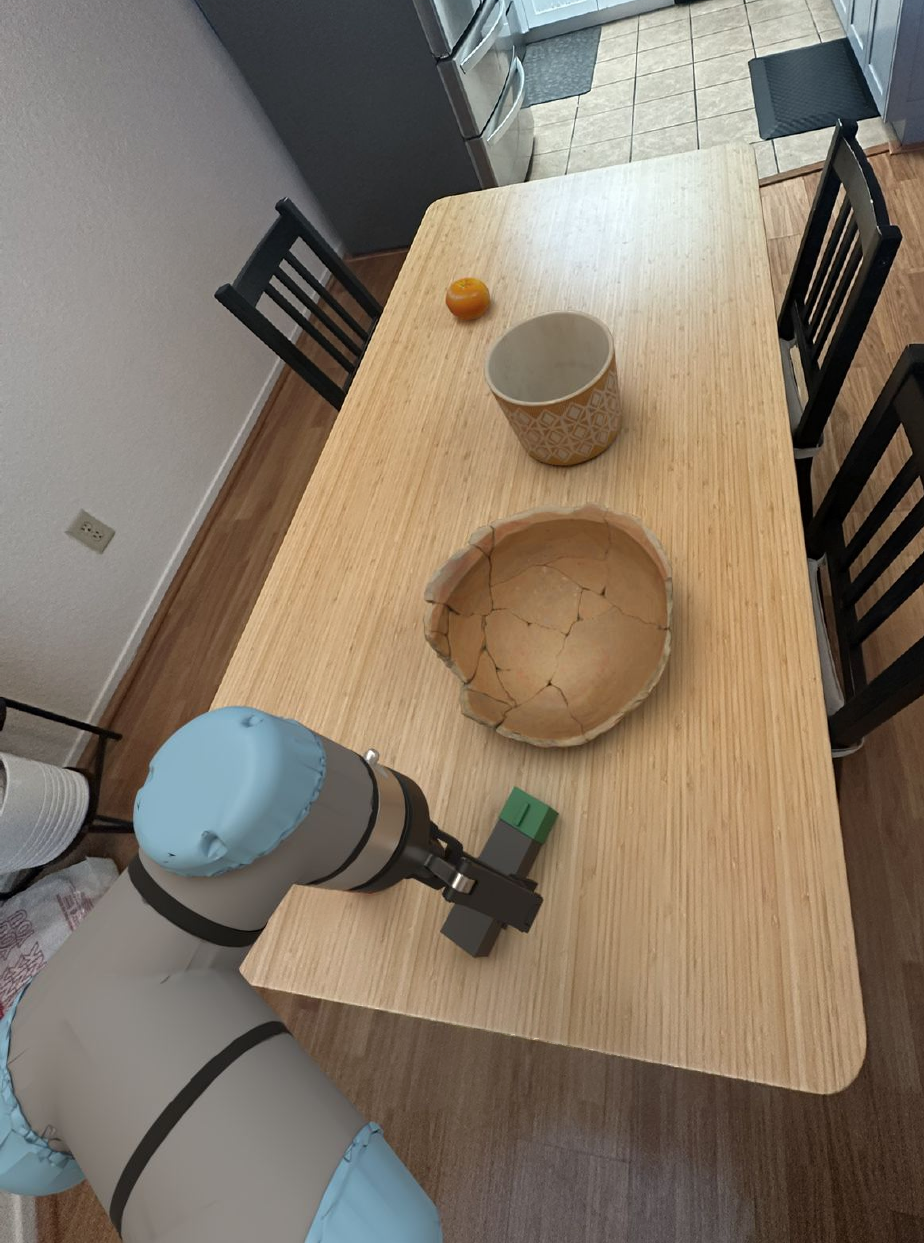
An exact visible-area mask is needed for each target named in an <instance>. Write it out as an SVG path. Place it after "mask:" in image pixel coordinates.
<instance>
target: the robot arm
mask: <svg viewBox="0 0 924 1243" xmlns="http://www.w3.org/2000/svg"><path fill="white" fill-rule="evenodd" d="M380 757H381V755H380V753H379V751H378V750H376V749H375V748H369V749H367V750H366V751H365V752H364V754H363V755H361V754H360V753H357V751H355V750H352V749H350V748H348V747H346V746H344V745H342V744H341V743H338V742H336V741H335V740H333V739H331V738H329V737H326V736H325V735H323V734H321V733H320V732H317V731H316V730H313V729H311V728H310V727H307V726H305V725H304V724H303V723H301V722H300V721H298V720H296V719H293V718H284V717H283V716H278V715H276V714H272V713H269V712H267V711H264V710H261V709H258V708H256V707H253V706H246V705H228V706H223V707H220V708H216V709H212V710H210V711H207V712H205V713H201V714H199V715H198V716H197V717H194V718H193V719H192V720H190V721H188V722H187V723H185V724H184V725H182V727H180V728H179V729H178V730H176V731H175V732H174V733H173V734H172V735H171V736H170V737H169V738H167V739H166V741H165V742H164V743H163V744H162V745H161V747H160V748H159V749H158V751H157V752H156V753H155V755H154V756H153V757H152V759H151V761H150V762H149V764H148V768H149V772H148V775H147V777H146V779H145V781H144V785H143V786H142V787H141V788H139V789H138V790H137V793H136V796H135V799H134V803H133V814H132V815H133V816H132V819H133V820H132V822H133V830H134V833H135V838H136V840H137V842H138V846H139V847H138V851H137V852H136V854H134V856H133V857H132V858H131V859H130V860H129V862H128V865H127V866H126V868H125V869H124V870H123V871H122V872H121V874H120V875H119V876H118V877H117V878H116V880H115V881H114V882H113V884H112V885H111V886H110V887H109V888H108V890H107V891H106V892H105V893H104V894H103V896H101V898H100V899H99V900H98V901H97V903H96V904H95V905H94V906H93V907H92V908H91V910H90V911H89V912H88V913H87V915H86V916H84V918H83V919H82V920H81V921H80V923H78V925H77V926H76V927H75V929H74V930H73V931H72V932H71V933H70V935H69V936H68V937H67V938H65V941H64V942H63V943H61V945H60V946H59V947H58V948H57V950H56V951H55V952H54V954H53V955H52V956H51V957H50V958H49V959H48V961H47V962H46V963H45V964H44V965H43V966H42V967H41V969H39V970H38V971H37V973H35V974H34V975H33V976H32V977H31V978H29V979H28V981H27V982H26V983H25V985H24V986H23V988H22V989H21V990H20V991H19V992H18V993H17V995H16V996H15V998H14V1000H13V1002H12V1005H10V1007H9V1009H8V1010H7V1011H6V1013H5V1014H4V1016H3V1017H2V1018H1V1019H0V1190H1V1191H2V1192H6V1193H9V1194H13V1195H16V1196H17V1195H18V1196H25V1197H43V1196H50V1195H55V1194H60V1193H62V1192H65V1191H68V1190H70V1189H72V1188H74V1187H75V1186H78V1185H79V1184H80V1183H81V1182H83V1181H85V1180H87V1182H88V1184H89V1186H90V1187H91V1189H92V1190H93V1192H94V1194H95V1196H96V1197H97V1199H98V1202H99V1203H100V1205H101V1206H102V1208H103V1210H104V1212H105V1213H106V1215H107V1216H108V1218H109V1220H110V1222H111V1224H112V1225H113V1227H114V1228H115V1230H116V1232H117V1234H118V1238H119V1239H120V1241H121V1242H122V1243H444V1235H443V1226H442V1222H441V1220H440V1213H439V1211H438V1208H437V1207H436V1204H434V1202H433V1201H432V1199H431V1198H430V1197H429V1195H428V1194H427V1192H425V1190H424V1189H423V1188H422V1187H421V1185H420V1184H419V1182H418V1181H417V1180H416V1178H415V1177H414V1176H413V1174H411V1172H410V1170H408V1168H407V1167H406V1165H405V1164H404V1162H403V1161H402V1160H401V1158H399V1157H398V1155H397V1154H396V1152H395V1151H394V1150H393V1148H392V1146H390V1145H389V1143H388V1142H387V1141H386V1139H385V1138H384V1133H385V1132H384V1131H385V1130H383V1128H382V1127H381V1126H380V1125H379V1124H378V1123H377V1122H376V1121H374V1120H372V1121H369V1120H368V1118H366V1116H365V1115H364V1114H363V1113H362V1112H361V1111H360V1110H359V1108H357V1106H356V1105H355V1104H354V1102H352V1100H351V1099H350V1098H349V1097H348V1095H346V1093H344V1092H343V1091H342V1089H341V1088H340V1087H339V1086H338V1085H337V1084H336V1082H334V1080H333V1079H332V1078H331V1077H330V1076H329V1075H328V1074H327V1073H326V1071H325V1070H324V1069H323V1068H322V1067H321V1066H320V1065H319V1064H318V1063H317V1062H316V1060H315V1059H314V1058H313V1057H312V1055H310V1053H309V1052H308V1051H307V1050H306V1049H305V1048H304V1047H303V1046H302V1044H300V1042H299V1041H298V1040H297V1039H296V1038H295V1036H294V1035H293V1033H292V1032H291V1031H290V1030H289V1029H288V1027H287V1026H286V1023H284V1021H283V1020H282V1019H281V1017H279V1015H278V1014H277V1013H276V1012H275V1011H274V1009H273V1008H272V1006H270V1005H269V1004H268V1002H267V1001H266V1000H265V999H264V998H263V997H262V996H261V994H260V993H259V992H258V991H257V990H256V989H255V987H254V986H253V985H252V984H251V983H250V982H249V980H248V979H247V978H246V977H245V976H244V975H243V974H242V972H241V970H240V969H241V968H240V967H241V966H242V965H243V963H244V961H245V960H246V958H247V956H248V955H249V953H250V952H251V950H252V948H253V947H254V945H255V943H256V942H257V941H258V940H259V938H260V937H261V935H262V934H263V933H264V930H265V929H266V928H267V926H268V923H269V921H270V920H271V917H272V916H273V915H274V913H275V912H276V910H277V909H278V907H279V906H280V905H281V903H282V902H283V900H284V898H285V897H286V896H287V895H288V893H289V891H290V890H291V888H292V887H293V886H294V885H295V886H300V887H307V888H315V889H322V890H328V891H337V890H345V891H353V892H362V893H375V892H380V891H382V892H384V891H385V890H388V889H390V888H393V887H394V886H395V885H397V884H399V883H401V882H402V881H403V880H416V881H418V882H420V883H422V884H423V885H425V886H427V887H429V888H431V889H433V890H435V891H441V890H442V889H443V890H442V892H441V896H442V898H443V899H444V901H446V902H447V903H449V904H458V905H462V906H466V907H469V908H471V909H473V910H475V911H478V912H480V913H482V914H485V915H487V916H489V917H491V918H494V919H496V920H497V922H496V923H498V925H499V926H500V927H501V928H502V930H504V931H507V930H508V927H509V926H510V927H511V928H514V929H516V930H518V931H519V932H521V933H522V934H523V933H525V934H529V932H530V930H531V929H532V926H533V923H534V922H535V921H536V920H535V919H536V918H537V915H538V914H539V911H540V909H541V907H542V904H543V902H544V901H545V899H544V897H543V896H542V895H541V894H540V893H539V892H537V891H536V889H537V887H538V885H539V883H538V882H537V881H535V880H533V878H530V877H527V878H526V877H523V876H519V875H515V874H512V873H510V874H509V876H508V875H506V874H504V873H503V872H501V871H499V870H497V869H495V868H493V867H492V866H490V865H488V864H486V863H484V862H483V861H481V860H479V859H478V858H477V857H476V856H473V855H472V854H470V853H469V852H467V851H464V845H463V843H462V842H461V841H460V840H458V839H457V837H455V836H453V835H452V834H450V833H448V832H446V831H444V830H442V829H440V828H439V825H437V824H436V823H435V822H434V821H433V820H432V819H431V815H430V808H429V804H428V800H427V798H426V795H425V793H424V792H423V790H422V788H421V787H420V786H419V784H418V783H417V782H416V781H414V780H413V779H412V778H410V776H407V775H405V774H403V773H401V772H399V771H398V770H395V769H393V768H391V767H388V766H385V765H383V764H380V763H378V762H379V761H380ZM440 841H441V842H443V843H445V844H446V847H444V846H443V844H442V843H441V842H440ZM383 890H384V891H383Z"/></svg>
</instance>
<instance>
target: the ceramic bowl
mask: <svg viewBox="0 0 924 1243" xmlns="http://www.w3.org/2000/svg"><path fill="white" fill-rule="evenodd" d="M467 544H468V545H467V546H466V547H463V548H460V549H458V550H456V551H455V552H454V553H453V554H452V555H451V556H450V557H449V558H448V559H447V560H446V561H445V562H443V563H442V564H441V565H440V566H439V567H438V568H436V570H434V571H433V572H432V574H431V577H430V579H429V580H428V583H427V585H426V586H425V590H424V594H423V595H424V596H423V597H424V601H425V602H426V603H429V604H431V606H430V607H429V608H427V611H426V612H425V614H424V615H423V619H422V622H423V635H424V639H425V641H426V642H427V643H428V644H429V646H430V647H431V649H432V650H434V652H435V654H436V658H437V659H440V660H441V661H442V663H443V664H444V665H445V666H446V668H448V669H450V670H451V672H452V674H454V675H455V676H457V677H458V679H459V680H460V681H461V682H462V683H463V684H462V685H461V687H460V693H459V700H458V701H459V705H460V714H461V715H462V716H463V717H465V718H466V719H470V720H472V721H474V722H475V723H477V724H479V725H481V726H483V727H487V728H490V729H494V730H495V732H496V733H497V734H499V735H501V736H503V737H505V738H507V739H510V740H512V741H516V742H521V743H524V744H527V745H533V746H537V747H540V748H546V749H551V748H555V747H556V748H562V749H566V748H570V747H576V746H581V745H583V744H587V743H588V742H590V741H592V740H594V739H596V738H597V737H599V736H601V735H604V734H605V733H607V732H609V731H610V730H611V729H612V728H613V727H614V726H615V725H617V724H618V723H619V722H620V721H621V719H622V718H624V717H625V716H626V715H627V714H629V713H631V712H633V711H634V710H635V709H636V708H638V707H639V706H640V705H641V704H643V702H644V701H645V700H646V699H647V698H648V697H650V695H651V694H652V692H653V691H654V689H655V687H656V685H657V684H658V683H659V682H660V680H661V679H662V677H663V675H664V672H665V670H666V667H667V665H668V662H669V660H670V657H671V651H672V643H673V632H674V623H675V599H674V585H673V577H672V576H673V567H672V565H671V563H670V560H669V559H668V556H667V554H666V552H665V550H664V547H663V545H662V543H661V542H660V540H659V538H658V537H657V535H656V533H655V532H653V531H652V530H651V529H650V528H649V527H648V526H647V525H646V524H645V522H644V521H643V519H641V518H640V517H638V516H636V515H632V514H629V513H627V512H622V511H619V510H616V509H613V508H610V507H607V506H606V505H605V504H603V503H601V502H597V501H588V502H586V503H583V504H582V505H577V506H562V505H558V504H556V503H551V504H548V503H547V504H542V505H537V506H534V507H532V508H530V509H527V510H523V511H520V512H516V513H514V514H510V515H509V516H507V517H504V518H499V519H496V520H494V521H492V522H490V524H486V525H483V526H478V528H477V529H476V530H474V532H473V533H471V535H470V538H469V540H468V542H467Z"/></svg>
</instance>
